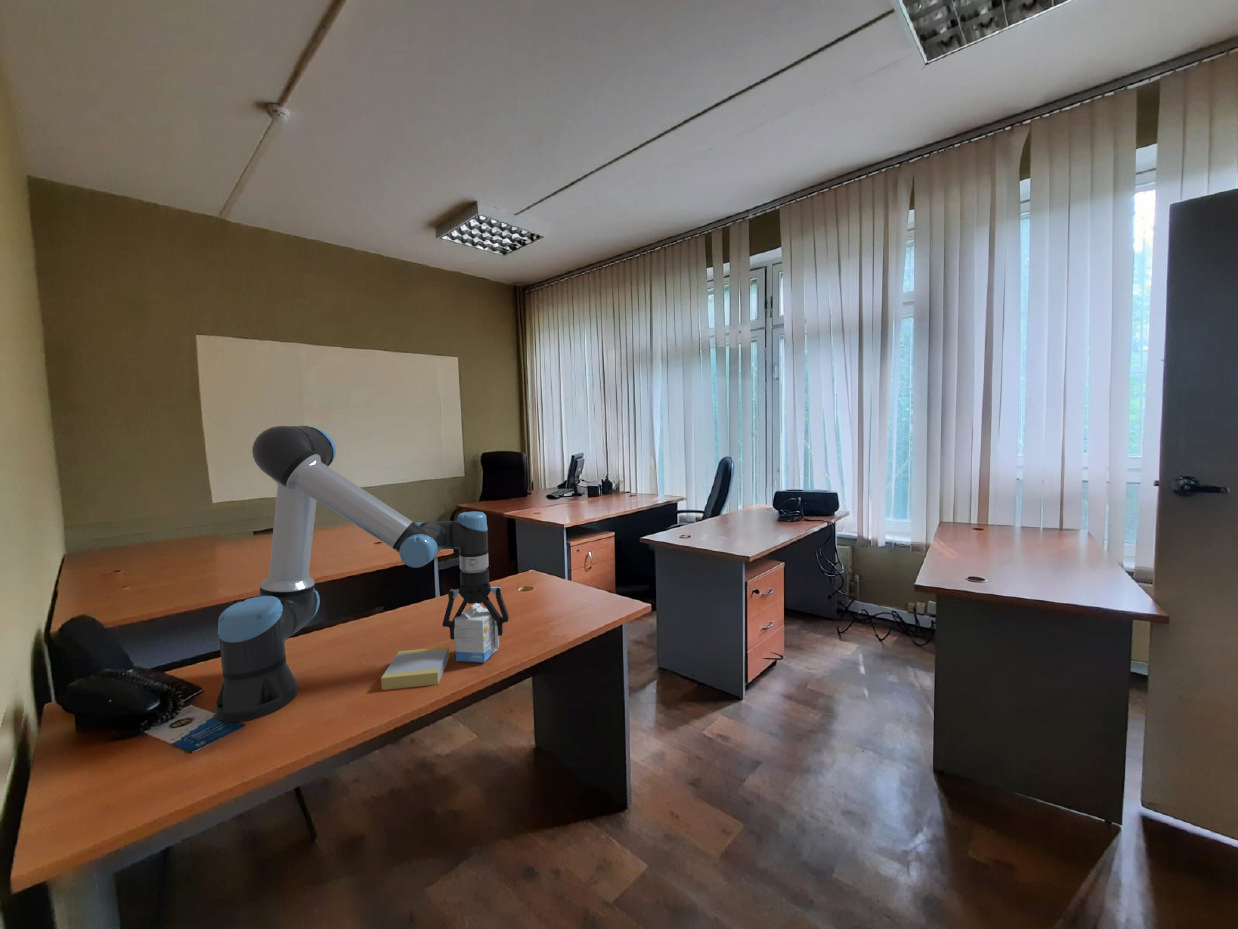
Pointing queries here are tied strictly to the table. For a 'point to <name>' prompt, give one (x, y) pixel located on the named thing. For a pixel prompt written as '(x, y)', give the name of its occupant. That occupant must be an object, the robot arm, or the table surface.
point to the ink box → (475, 634)
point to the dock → (415, 668)
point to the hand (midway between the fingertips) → (477, 648)
